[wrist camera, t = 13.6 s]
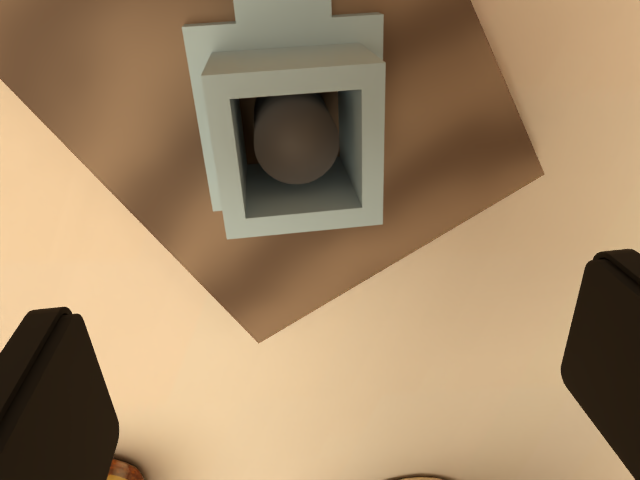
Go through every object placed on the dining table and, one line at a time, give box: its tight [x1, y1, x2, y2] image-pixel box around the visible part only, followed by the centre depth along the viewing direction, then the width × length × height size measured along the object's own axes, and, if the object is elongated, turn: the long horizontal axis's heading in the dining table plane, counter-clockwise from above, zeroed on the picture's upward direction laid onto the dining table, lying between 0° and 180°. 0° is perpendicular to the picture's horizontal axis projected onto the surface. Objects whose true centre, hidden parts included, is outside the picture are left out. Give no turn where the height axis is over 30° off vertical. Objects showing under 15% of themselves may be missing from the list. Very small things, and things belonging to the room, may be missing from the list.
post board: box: [0, 0, 544, 343], centre depth 21 cm, size 20×18×6 cm
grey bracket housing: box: [182, 0, 386, 239], centre depth 19 cm, size 13×8×6 cm, turn 2°
